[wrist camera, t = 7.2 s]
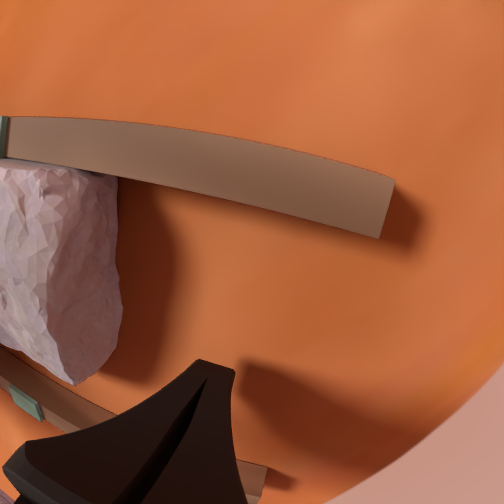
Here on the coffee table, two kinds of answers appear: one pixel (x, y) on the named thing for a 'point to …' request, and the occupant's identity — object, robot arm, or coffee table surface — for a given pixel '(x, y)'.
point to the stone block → (59, 266)
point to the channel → (196, 180)
